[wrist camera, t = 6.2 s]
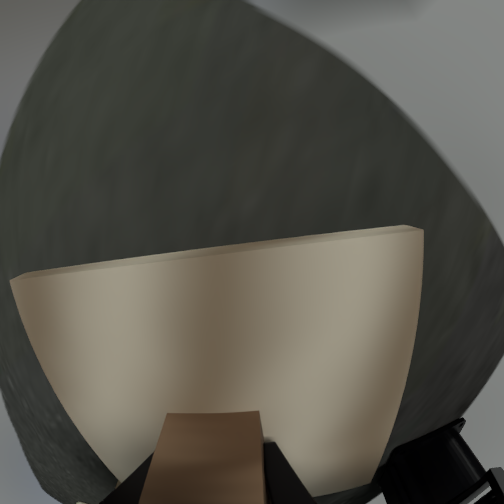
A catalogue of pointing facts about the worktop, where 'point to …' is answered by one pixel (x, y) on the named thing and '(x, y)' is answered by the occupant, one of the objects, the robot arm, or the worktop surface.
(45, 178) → the worktop surface
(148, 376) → the lid
